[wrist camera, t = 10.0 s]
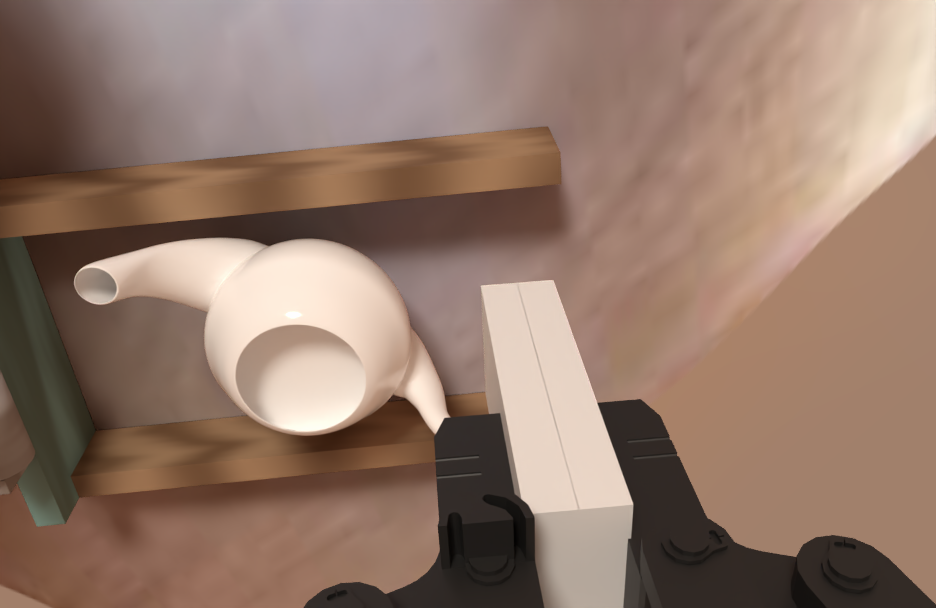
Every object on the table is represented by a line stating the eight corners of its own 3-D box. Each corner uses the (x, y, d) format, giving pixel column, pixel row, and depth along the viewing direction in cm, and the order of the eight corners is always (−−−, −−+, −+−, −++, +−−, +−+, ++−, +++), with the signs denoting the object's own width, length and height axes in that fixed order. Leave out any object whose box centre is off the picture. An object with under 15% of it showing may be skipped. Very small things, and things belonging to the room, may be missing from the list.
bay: (65, 454, 48) (-3, 571, 41) (-46, 183, 40) (-158, 264, 32) (557, 405, 49) (584, 512, 41) (547, 126, 40) (579, 192, 33)
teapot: (436, 419, 49) (440, 533, 41) (107, 267, 43) (35, 364, 35) (526, 297, 45) (550, 394, 37) (179, 111, 39) (117, 179, 31)
